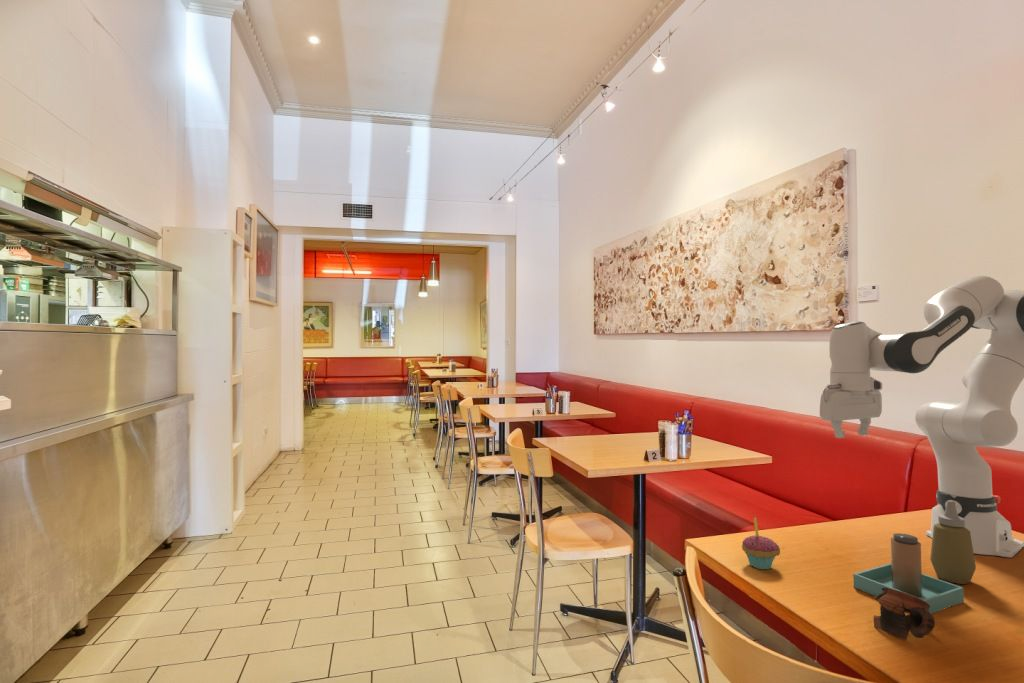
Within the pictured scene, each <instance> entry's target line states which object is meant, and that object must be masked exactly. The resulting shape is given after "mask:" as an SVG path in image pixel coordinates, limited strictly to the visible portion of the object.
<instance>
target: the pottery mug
mask: <svg viewBox="0 0 1024 683" xmlns="http://www.w3.org/2000/svg"><path fill="white" fill-rule="evenodd" d="M882 590H883V593H881V594H879V595H877V596H875V597H874V600H875V601H878V603H879V605H880V606H879V610H880V612H879V613H880V615H873V619H872V620H873V628H876V629H877V630H880V631H882V632H886V634H889V635H891V636H894V637H896V638H898V639H901V640H903V641H906V642H907V640H908V636H909V632H910V633H911V635H912V636H913V637H914V638H916V639H922V638H924V637H925V636H928V635H929V634H931V633H932V631H933V630H934V628H935V625H936V620H935V617H934V616H933V615H932V614H930V612H929V608H930V605H929V604H928V603H926V602H925V601H923V600H921V599H919V598H917V597H915V596H912V595H910V594H907V593H904V592H901V591H898V590H894V589H890V588H882ZM880 597H881V598H880ZM906 613H907V614H906Z"/></svg>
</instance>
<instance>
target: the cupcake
mask: <svg viewBox="0 0 1024 683" xmlns="http://www.w3.org/2000/svg"><path fill="white" fill-rule="evenodd" d="M753 523H754V530H755V531H754V532H755V533H754V535H750V536H747V537H746V538H745V537H744V539H743V540H742V544H741V548H742V549H741V550H742V551H743V552H744V553H745V554H746V557H747V560H748V564H749V565H750V566H751V565H752V566H754V567H756V568H755V569H757V568H759V569H758V570H763V569H767V570H769V569H771V568H772V565H773V563H774V560H775V558H776V556H779V555H780V554H781V548H780V546H779V545H778V544H777V542H775V541H774V540H773V539H771V538H769V537H765V536H761V535H760V534H759V527H758V518H756V515H755V514H754V518H753ZM752 566H751V567H752ZM754 567H753V568H754Z"/></svg>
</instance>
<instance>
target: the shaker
mask: <svg viewBox="0 0 1024 683" xmlns="http://www.w3.org/2000/svg"><path fill="white" fill-rule="evenodd" d="M892 535H893V537H891V538H890V556H891V558H890V560H891V567H892V588H894V589H897V590H900V591H902V592H905V593H908V594H910V595H913V596H915V597H918V598H920V597H922V574H923V572H922V544H921V542H919V540H918V539H919V538H918V537H917V536H914V535H911V534H907V533H893V534H892Z"/></svg>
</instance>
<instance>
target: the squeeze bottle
mask: <svg viewBox="0 0 1024 683" xmlns="http://www.w3.org/2000/svg"><path fill="white" fill-rule="evenodd" d="M938 521H939V523H937V524H935V525H934V527H933V538H931V539H932V540H931V548H930V562H931V565H932V568H933V569H934V571H935V572H934V573H935V575H936V576H937V577H938V579H939V578H940V580H942V581H945V582H948V583H952V584H954V583H955V584H960V585H961V584H962V585H967V584H970V583H971V580H972V578H973V577H974V573H975V572H976V569H977V566H976V565H977V564H976V560H975V553H974V552H973V546H972V540H971V534H970V531H969V530H968V529H967V528H965V527H964V526H965V520H964V519H963V518H962V517H959V516H958V513H957V510H956V507H955V503H954V502H953V501H947V505H946V509H945V513H944V514H940V515H939V516H938Z"/></svg>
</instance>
